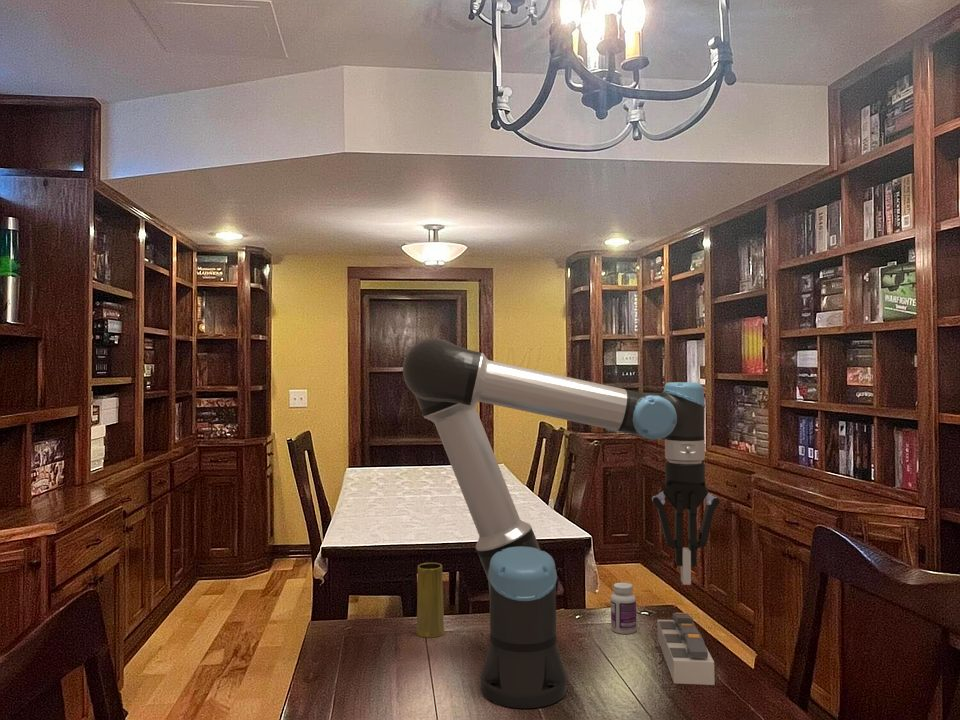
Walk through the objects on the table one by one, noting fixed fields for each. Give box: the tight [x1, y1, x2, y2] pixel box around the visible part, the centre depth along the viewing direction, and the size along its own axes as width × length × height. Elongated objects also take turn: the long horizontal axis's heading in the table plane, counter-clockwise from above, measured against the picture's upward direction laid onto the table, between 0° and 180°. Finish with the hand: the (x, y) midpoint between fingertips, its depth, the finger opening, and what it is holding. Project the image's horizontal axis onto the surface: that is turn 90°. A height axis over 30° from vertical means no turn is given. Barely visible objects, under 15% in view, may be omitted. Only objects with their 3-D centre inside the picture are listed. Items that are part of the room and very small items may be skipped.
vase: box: [415, 562, 446, 639], centre depth 153 cm, size 6×6×14 cm
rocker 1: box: [672, 612, 694, 624], centre depth 145 cm, size 3×6×1 cm, turn 174°
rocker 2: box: [678, 623, 701, 639], centre depth 138 cm, size 3×6×1 cm, turn 174°
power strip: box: [656, 619, 715, 686], centre depth 138 cm, size 7×21×5 cm, turn 174°
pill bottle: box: [610, 582, 637, 635], centre depth 154 cm, size 5×5×10 cm
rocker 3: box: [684, 633, 709, 658], centre depth 131 cm, size 3×6×1 cm, turn 174°
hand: (685, 582), depth 140 cm, fingers closed
